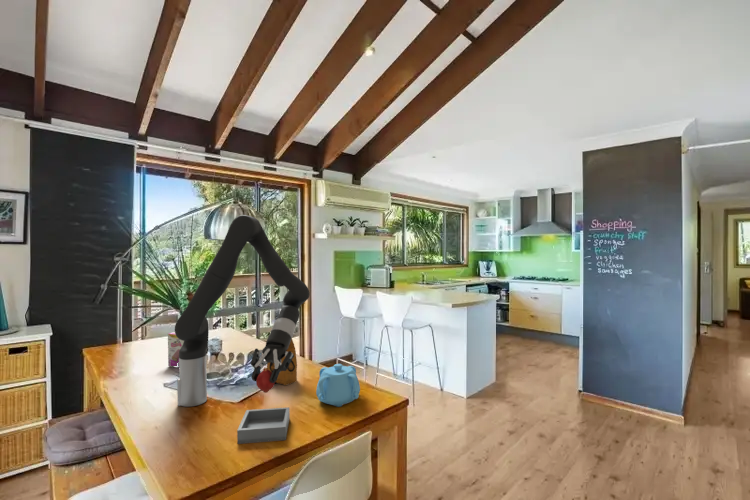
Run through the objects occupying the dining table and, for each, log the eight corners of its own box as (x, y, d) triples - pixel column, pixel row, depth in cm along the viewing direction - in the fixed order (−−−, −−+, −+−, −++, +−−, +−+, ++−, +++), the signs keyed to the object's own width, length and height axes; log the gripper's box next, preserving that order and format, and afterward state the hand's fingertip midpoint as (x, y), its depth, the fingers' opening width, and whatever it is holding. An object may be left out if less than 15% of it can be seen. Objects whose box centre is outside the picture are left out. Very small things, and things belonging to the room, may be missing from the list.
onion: (258, 389, 124) (258, 364, 124) (276, 388, 124) (276, 364, 124) (254, 396, 118) (254, 370, 118) (273, 395, 119) (273, 370, 119)
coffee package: (282, 388, 157) (282, 334, 156) (263, 381, 164) (263, 330, 164) (301, 380, 165) (300, 330, 164) (282, 375, 172) (281, 326, 172)
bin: (237, 443, 113) (237, 430, 113) (246, 422, 127) (246, 410, 127) (285, 440, 115) (285, 426, 115) (289, 419, 129) (289, 407, 129)
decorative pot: (359, 409, 136) (359, 371, 136) (313, 410, 136) (313, 372, 135) (360, 392, 152) (360, 358, 152) (319, 392, 152) (319, 358, 152)
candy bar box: (167, 367, 185) (167, 333, 184) (176, 364, 189) (175, 331, 189) (185, 369, 181) (185, 335, 181) (193, 366, 186) (193, 332, 185)
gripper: (258, 327, 130) (237, 373, 119) (296, 329, 126) (278, 377, 115) (267, 339, 135) (247, 384, 124) (304, 341, 131) (287, 388, 120)
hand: (262, 381), depth 119 cm, fingers closed on onion, 5 cm apart
